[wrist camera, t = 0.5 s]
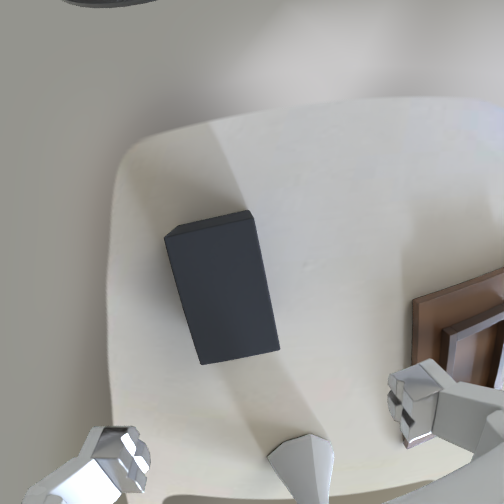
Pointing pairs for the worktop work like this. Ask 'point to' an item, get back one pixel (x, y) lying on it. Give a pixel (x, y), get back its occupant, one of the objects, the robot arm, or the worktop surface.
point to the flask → (305, 468)
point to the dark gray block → (223, 287)
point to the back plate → (462, 332)
